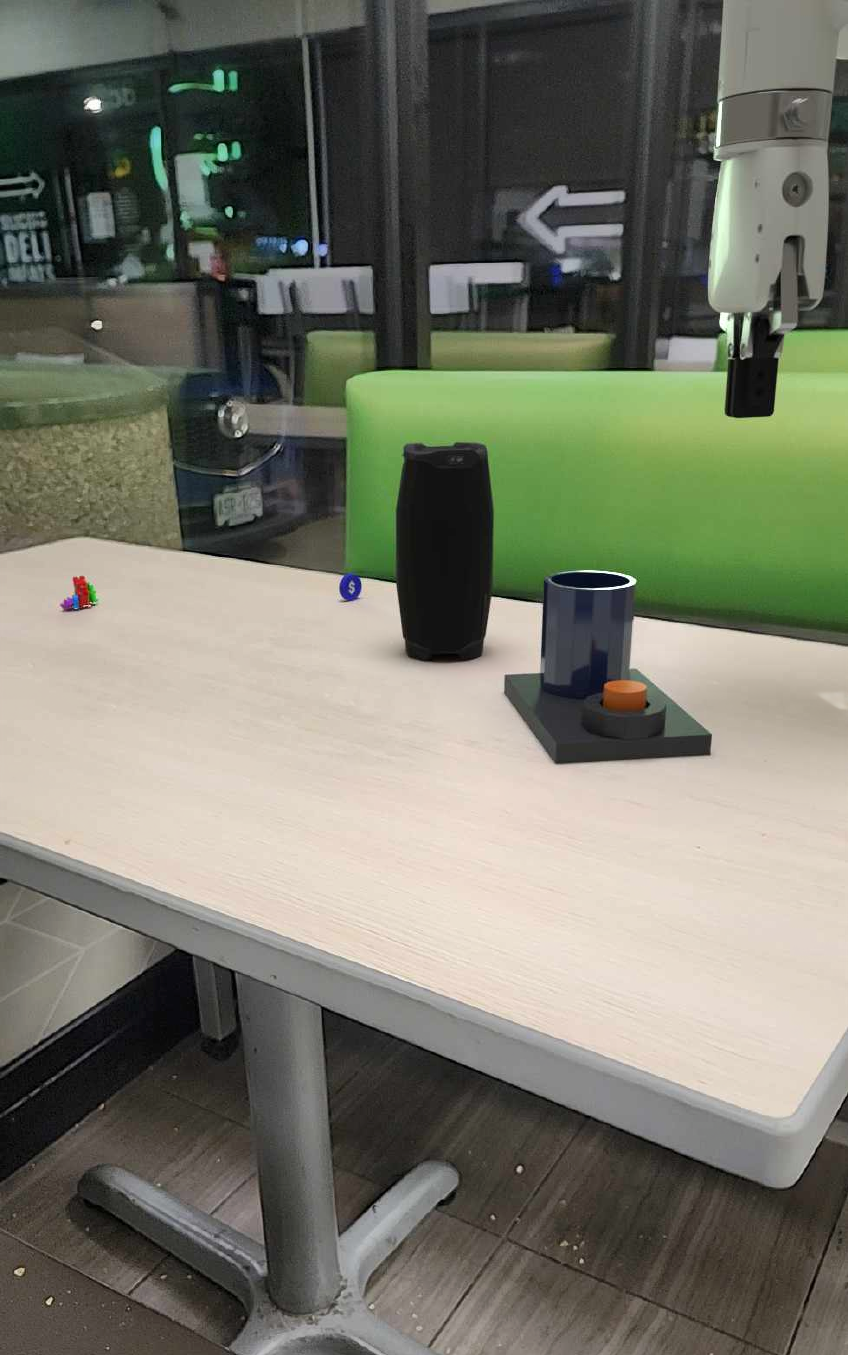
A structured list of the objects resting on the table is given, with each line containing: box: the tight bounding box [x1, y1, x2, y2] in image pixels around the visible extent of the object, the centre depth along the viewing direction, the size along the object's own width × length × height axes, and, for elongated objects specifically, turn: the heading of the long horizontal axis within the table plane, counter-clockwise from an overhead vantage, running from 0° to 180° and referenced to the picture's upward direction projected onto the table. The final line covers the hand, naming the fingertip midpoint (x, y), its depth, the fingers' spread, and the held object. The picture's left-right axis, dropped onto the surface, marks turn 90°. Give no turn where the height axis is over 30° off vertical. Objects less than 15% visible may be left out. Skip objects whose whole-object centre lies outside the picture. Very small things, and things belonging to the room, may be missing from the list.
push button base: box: [503, 668, 713, 765], centre depth 93 cm, size 12×18×4 cm, turn 9°
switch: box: [603, 680, 647, 711], centre depth 87 cm, size 3×3×2 cm
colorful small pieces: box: [59, 575, 99, 611], centre depth 131 cm, size 5×3×4 cm, turn 131°
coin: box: [338, 573, 363, 601], centre depth 134 cm, size 3×1×3 cm, turn 138°
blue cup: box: [539, 570, 637, 699], centre depth 95 cm, size 7×7×9 cm
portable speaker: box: [395, 441, 495, 662], centre depth 109 cm, size 9×9×20 cm
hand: (748, 416), depth 86 cm, fingers closed
